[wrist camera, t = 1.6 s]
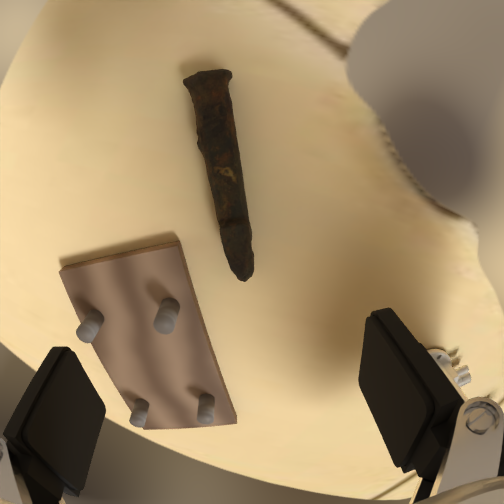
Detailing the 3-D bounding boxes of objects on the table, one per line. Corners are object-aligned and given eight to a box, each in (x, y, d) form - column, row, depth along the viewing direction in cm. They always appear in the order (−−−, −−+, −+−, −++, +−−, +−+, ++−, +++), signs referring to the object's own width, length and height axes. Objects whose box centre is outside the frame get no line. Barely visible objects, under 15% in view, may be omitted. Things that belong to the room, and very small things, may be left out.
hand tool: (187, 81, 24) (178, 71, 20) (231, 74, 24) (230, 62, 20) (217, 273, 31) (214, 296, 27) (257, 268, 31) (260, 290, 27)
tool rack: (179, 240, 29) (170, 260, 24) (236, 415, 38) (237, 443, 34) (64, 266, 29) (42, 286, 25) (145, 422, 39) (139, 447, 34)
